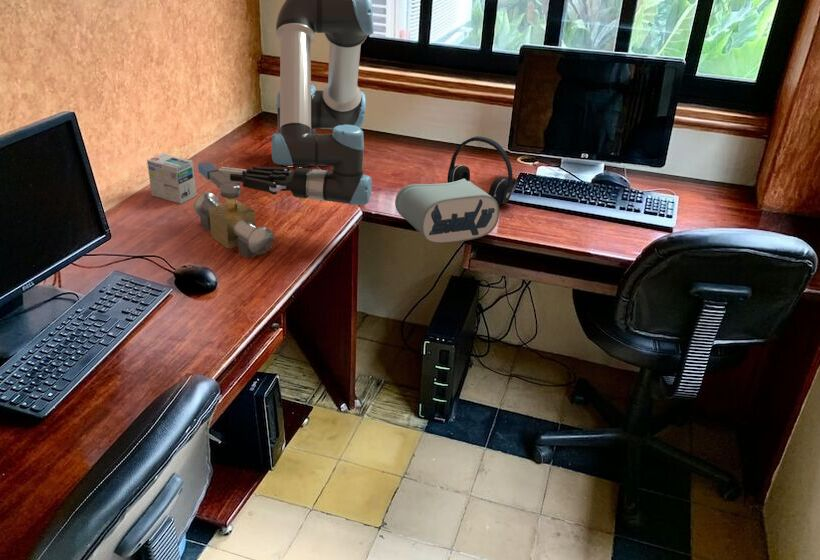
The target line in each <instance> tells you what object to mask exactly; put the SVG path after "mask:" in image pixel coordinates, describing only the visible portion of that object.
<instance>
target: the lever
mask: <svg viewBox="0 0 820 560" xmlns="http://www.w3.org/2000/svg"><path fill="white" fill-rule="evenodd" d="M197 169H198V170H197V171H198V173H200V174H201V175H202V176H203V177H204V178H205V179H206V180H209V181H211V182H212V183H213V184H214V185H216V187H218V188H219V192H220V196H221V197H223V198H225V199H226V198H235V197H236V198H238V197H240V196H241V195H242V191H241V190H242V189H241V182H236V181H229V180H228V179H227V178H226V177H225V176H223V175H222V174H221V173H220V172H219V169H218V168H217V166H215V165H214V164H212V163H211V162H210V161H205V162H200V163H199V162H198V163H197Z"/></svg>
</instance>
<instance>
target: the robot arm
mask: <svg viewBox="0 0 820 560" xmlns="http://www.w3.org/2000/svg"><path fill="white" fill-rule="evenodd" d="M275 24H276V25H275V27H276V28H275V33H276V34H275V35H276V38H277V40H278V41H279V43H280V44H279V49H280V50H279V54H280V55H279V63H280V64H279V65H280V66H279V72H280V74H279V77H280V81H279V84H280V85H279V90H278V91H277V94H276V95H277V96H276V97H277V98H276V100H277V101H276V108H277V109H276V110H277V132H276V133H272V135H271V160H272V162H273V163H274V165H279V166H281V165H285V166H293V167H298V168H294V170H293V171H292V170H291V169H292V168H290V167H284V166H282V167H278V166H276V167H272V166H251V168H247V169H244V168H237V167H230V166H229V167H228V166H221V167H220V168H219V169H218V171H219V172H220V173H221V174H222V175H223V176H225V177H226V178H227V179H228V180H229V181H236V182H238V183H242V187H243V188H247V189H252V190H255V191H256V190H257V191H261V192H264V193H265V192H266V193H268V194H271V195H274V196H275V195H277V194H278V191H279V192H286V191H287V192H291V194H292V196H293V197H295V198H300V199H308V198H309V199H310V200H318V201H319V202H323V201H324V202H325V201H326V202H333V203H334V202H335V203H339V204H348V205H352V206H353V205H356V206H366V205H367V204H368V203H369V201H370V199H371V196H372V191H373V182H372V177H371V176H369V175H367V174H364V150H365V145H364V131H363V130H362V128H361V127H363V124H364V121H365V114H366V106H367V105H366V103H367V102H366V101H367V100H366V99H367V98H366V94H365V92H363V91H361V89H360V88H359V86H358V82H359V81H358V79H359V70H360V69H359V68H360V60H361V59H360V57H361V46H362V44H363V43H365V40H366V39H367V38H368V36H371V35H373V34H374V14H373V1H372V0H285V1H284V2H283V4H282V6H281V8H280V10H279V12H278V15H277V19H276V23H275ZM315 33H317V34H318V33H319V34H324V36H325V38H326V40H327V41H328V42H329V43H328V45H329V48H328V75H327V76H328V81H327V84H326V85H325V86H324V88H323V90H321V89H320V90H317V88H316V87H315V85H314V84H312V73H311V72H312V68H311V67H312V65H311V64H312V63H311V62H312V59H311V57H312V54H311V51H312V49H311V48H312V47H311V45H312V44H311V43H312V42H313V41H314V39H315V36H316V35H315ZM317 129H318V130H332V133H331V134H322V133H321V134H319V133H316V130H317ZM307 166H311V167H314V166H318V167H319V166H321V167H323V166H326V167H327V166H328V167H332V168H331V169H332V171H331V170H325V169H317V168H313V169H311V168H308V167H307ZM299 167H305V168H299Z"/></svg>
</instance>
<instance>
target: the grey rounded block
mask: <svg viewBox="0 0 820 560" xmlns="http://www.w3.org/2000/svg"><path fill="white" fill-rule="evenodd" d="M394 200H395V204H394V205H395V210H396V211H397V213H398V214H399V215H400V217H402V218H403V219H405V220H406V221H407V222H408V224H410V226H412V227H413V228H414V229H415V230H416V231H417V232H418V233H420V235H421V236H423V238H425V240H426V241H428V242H430V243H433V244H438V245H439V244H453V243H461V242H465V241H472V240H477V239H480V238H483V237H485V236H487V235H489V234H490V233H492V231H493V230H494V229H495V228H496V226H497V224H498V221H499V218H500V208H499V207H500V206H499V205H498V203H497V201H496V200H495V199H494V198H493V197H491V196H490V195H489V193H487V192H486V191H485V190H483V189H482V188H481V187H478V186H477V185H475V184H474V183H473V182H472V181H471V180H470V181H467V180H466V179H461V180H458V181H455V182H449V183H448V182H445V183H444V182H443V183H442V182H441V183H416V184H415V183H413V184H409V185H405V186H404V187H402V188H401V189H400V190H399V191H398V192H397V194H396V197H395V199H394Z"/></svg>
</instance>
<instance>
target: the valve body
mask: <svg viewBox="0 0 820 560" xmlns="http://www.w3.org/2000/svg"><path fill="white" fill-rule="evenodd" d="M196 197H197V198H195V201H194V202H193V203H194V204H193V209H194V212H195V214H196V215H197V216H199V222H200V223H199V224H200V226H201V227H202V228H203V229H205V230H206V231H207V232H210V236H211V238H212V239H214V240H215V241H216V242H218V243H220V244H221V245H222V246H224V247H225V248H226V249H228V250H229V249H232V248H235V247H238V254H240V255H242V256H243V257H245V258H246V259H250V258H253V257H256V256H259V255H264V254H265V253H267V251H268V252H269V250H270V249H271V248H272V246H273V244H274V242H275V241H274V240H275V236H274V233H273V231H272V230H271V229H270V228H268V227H267V226H256V213H255V212H256V211H255V210H254V209H252V208H250V207H249V206H247V205H246V204H244V203H242V202H241V201H239V200H238V199H237V198H238V197H235V198H225V203H221V202H220V199H219V197H218V196H217V195H216V194H214V193H212V192H210V191H207V192H206V191H205V192H203V193H200V194H199V195H198V196H196Z"/></svg>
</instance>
